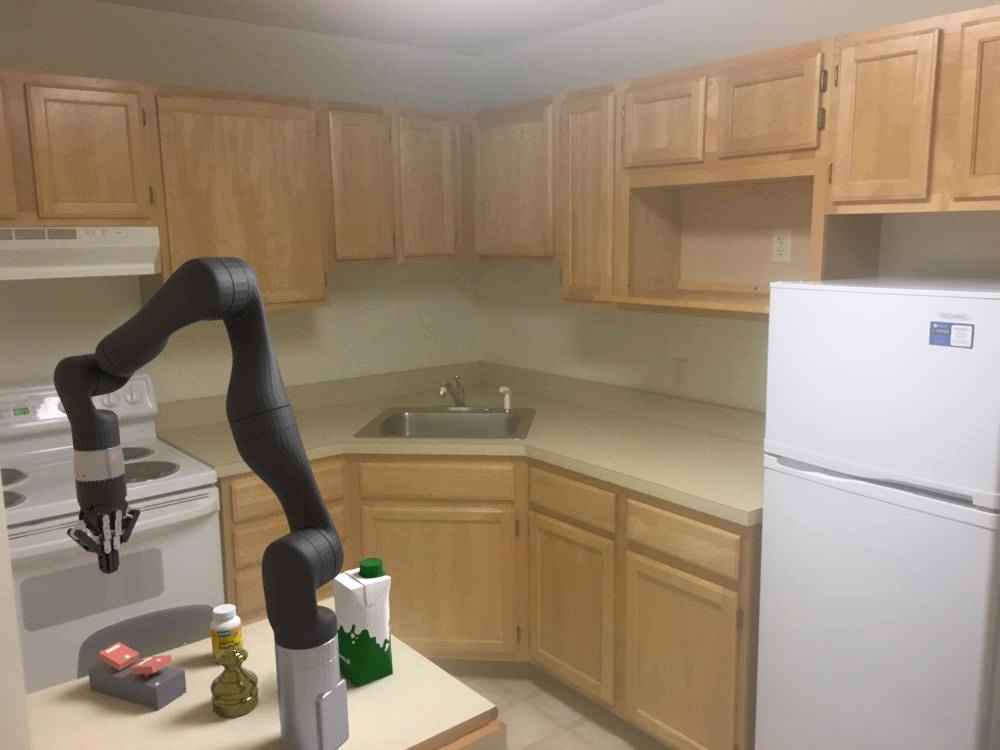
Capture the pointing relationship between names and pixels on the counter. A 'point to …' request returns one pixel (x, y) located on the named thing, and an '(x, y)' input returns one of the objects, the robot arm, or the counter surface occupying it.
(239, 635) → the supplement bottle
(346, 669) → the milk carton
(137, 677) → the switch box
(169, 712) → the counter surface
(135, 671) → the near rocker
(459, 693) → the counter surface
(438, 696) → the counter surface
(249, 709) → the gold chess piece
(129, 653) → the far rocker
